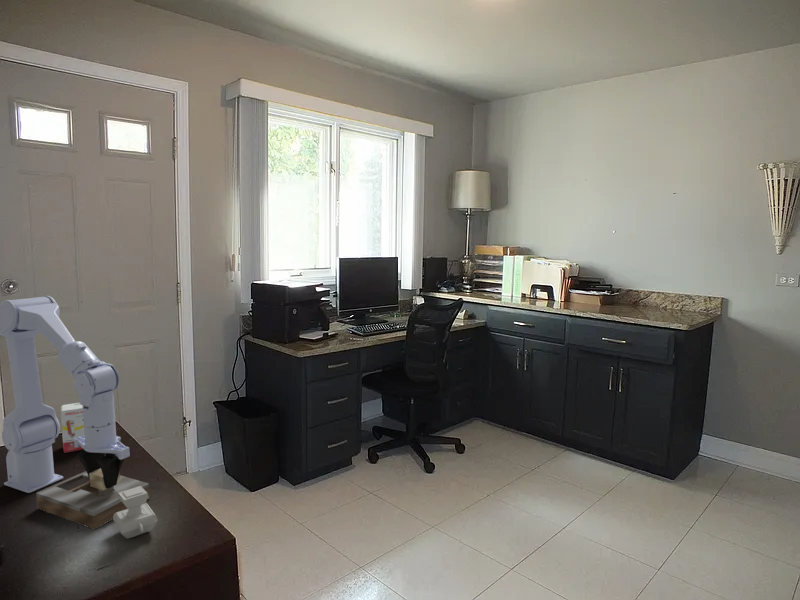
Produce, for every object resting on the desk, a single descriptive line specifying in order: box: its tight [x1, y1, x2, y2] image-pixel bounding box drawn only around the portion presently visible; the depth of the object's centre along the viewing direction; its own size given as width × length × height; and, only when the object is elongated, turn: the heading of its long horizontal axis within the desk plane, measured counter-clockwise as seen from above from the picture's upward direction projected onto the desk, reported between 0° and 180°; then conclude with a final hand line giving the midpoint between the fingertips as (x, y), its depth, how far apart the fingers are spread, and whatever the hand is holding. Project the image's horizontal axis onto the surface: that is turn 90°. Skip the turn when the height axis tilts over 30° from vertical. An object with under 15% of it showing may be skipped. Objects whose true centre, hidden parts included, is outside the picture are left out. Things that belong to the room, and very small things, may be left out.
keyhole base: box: [35, 470, 151, 530], centre depth 112 cm, size 18×13×4 cm
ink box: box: [60, 402, 85, 453], centre depth 140 cm, size 9×5×12 cm, turn 124°
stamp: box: [112, 486, 159, 540], centre depth 102 cm, size 9×7×8 cm
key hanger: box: [89, 468, 121, 496], centre depth 110 cm, size 5×5×7 cm
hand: (103, 484), depth 110 cm, fingers closed on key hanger, 4 cm apart
